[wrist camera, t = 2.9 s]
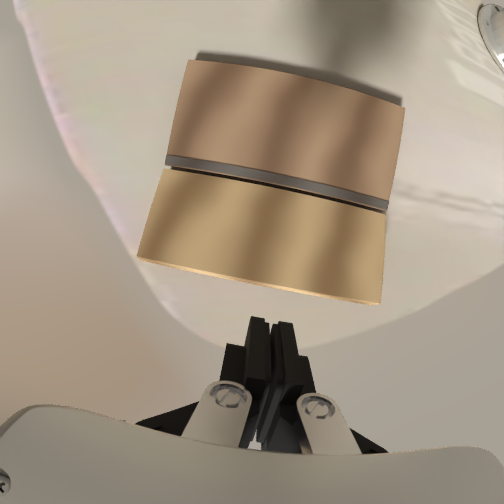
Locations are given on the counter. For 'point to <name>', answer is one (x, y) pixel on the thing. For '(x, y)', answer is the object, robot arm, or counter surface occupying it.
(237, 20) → the counter surface
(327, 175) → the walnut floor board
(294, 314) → the counter surface
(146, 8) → the counter surface
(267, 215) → the oak plank
